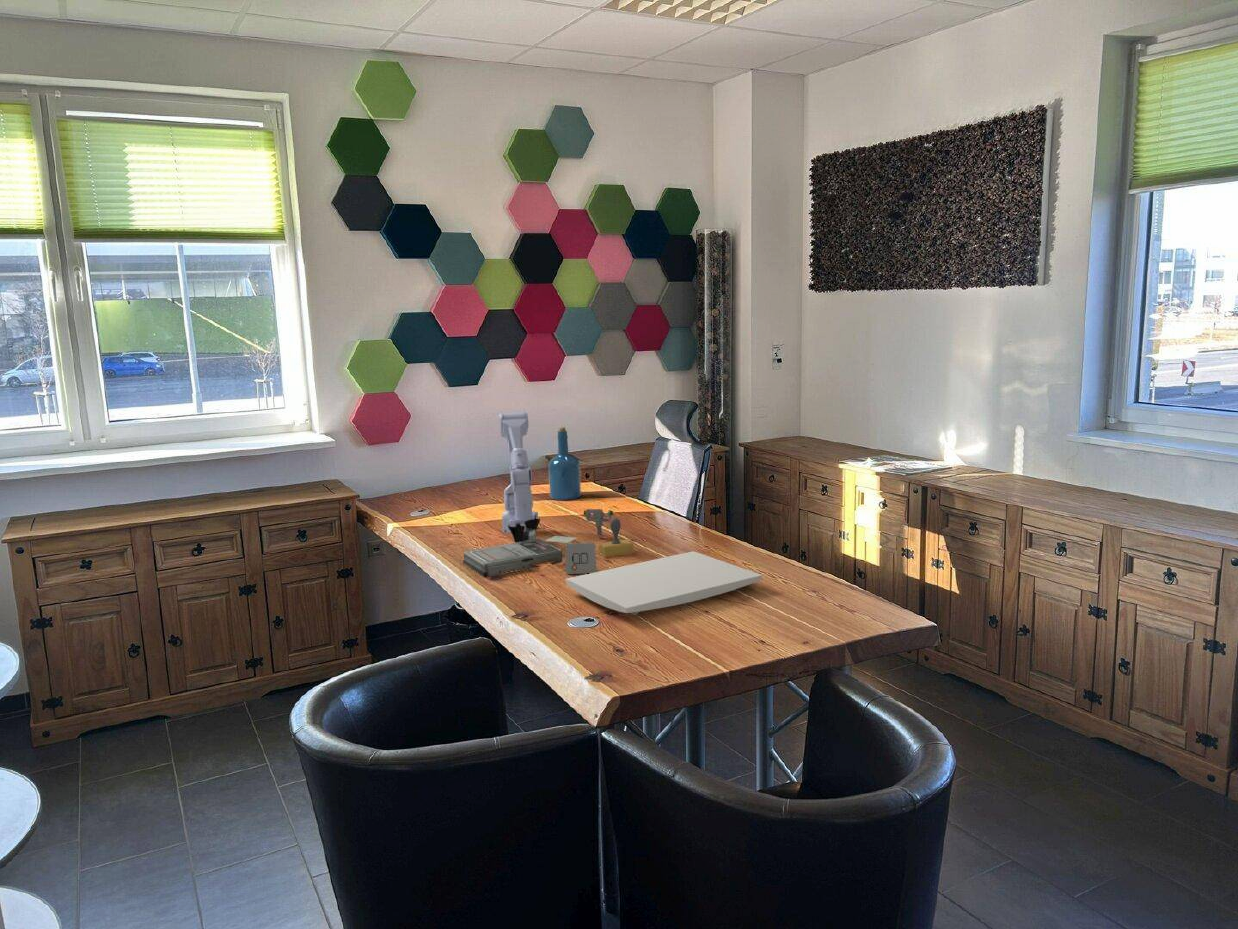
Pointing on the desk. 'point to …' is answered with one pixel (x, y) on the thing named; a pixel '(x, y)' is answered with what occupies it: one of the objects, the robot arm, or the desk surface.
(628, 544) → the rubber stamp
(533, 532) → the block
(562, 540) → the stand
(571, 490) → the wine bottle
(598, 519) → the mechanical component
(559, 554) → the hard drive
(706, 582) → the board
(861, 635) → the desk surface
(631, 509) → the desk surface
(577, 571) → the electrical switch
